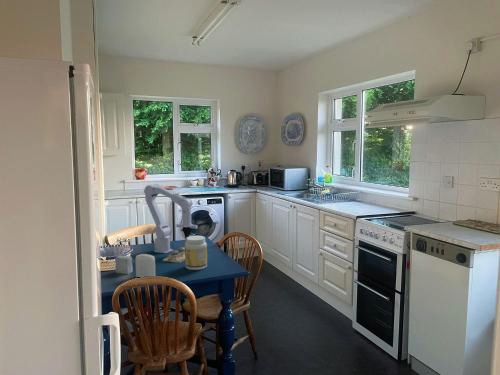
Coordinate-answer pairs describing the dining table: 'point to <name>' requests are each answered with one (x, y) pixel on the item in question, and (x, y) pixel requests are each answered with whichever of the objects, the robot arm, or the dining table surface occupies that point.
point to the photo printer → (145, 265)
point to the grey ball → (181, 249)
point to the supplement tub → (195, 253)
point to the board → (176, 257)
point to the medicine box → (123, 264)
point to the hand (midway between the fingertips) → (187, 239)
